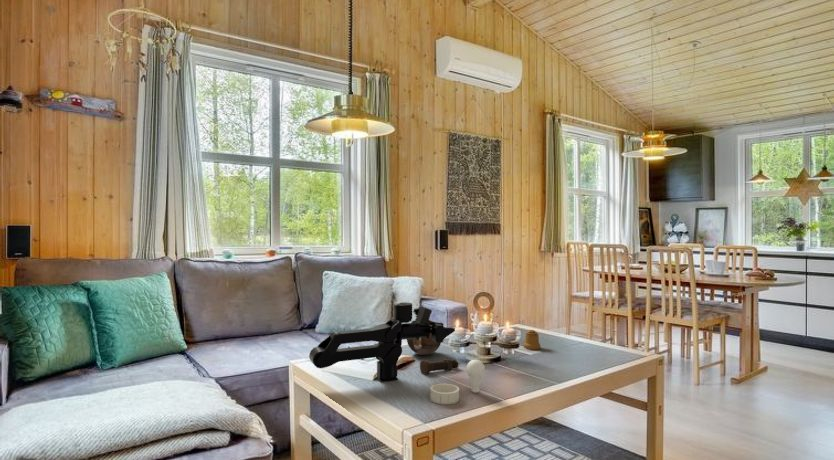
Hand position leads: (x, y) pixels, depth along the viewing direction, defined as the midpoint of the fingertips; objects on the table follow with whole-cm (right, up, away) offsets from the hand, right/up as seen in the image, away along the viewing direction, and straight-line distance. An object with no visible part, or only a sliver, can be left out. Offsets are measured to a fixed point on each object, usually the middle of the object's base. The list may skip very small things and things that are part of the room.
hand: (448, 327), depth 185 cm
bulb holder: (-3, -17, -30) cm, 34 cm away
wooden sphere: (-9, -16, +22) cm, 28 cm away
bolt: (-3, -17, -1) cm, 17 cm away
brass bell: (+39, -16, +33) cm, 54 cm away
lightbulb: (+7, -17, -24) cm, 30 cm away
